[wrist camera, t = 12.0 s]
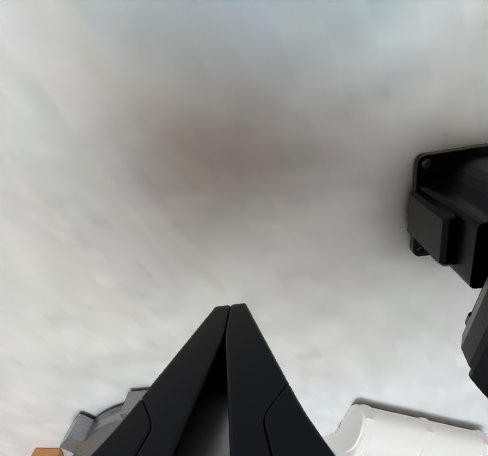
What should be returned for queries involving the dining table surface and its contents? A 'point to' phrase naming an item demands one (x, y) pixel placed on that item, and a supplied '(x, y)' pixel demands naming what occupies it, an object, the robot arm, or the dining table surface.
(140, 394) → the sprocket
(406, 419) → the white brass knuckles
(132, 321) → the dining table surface
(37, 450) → the orange rectangular block
